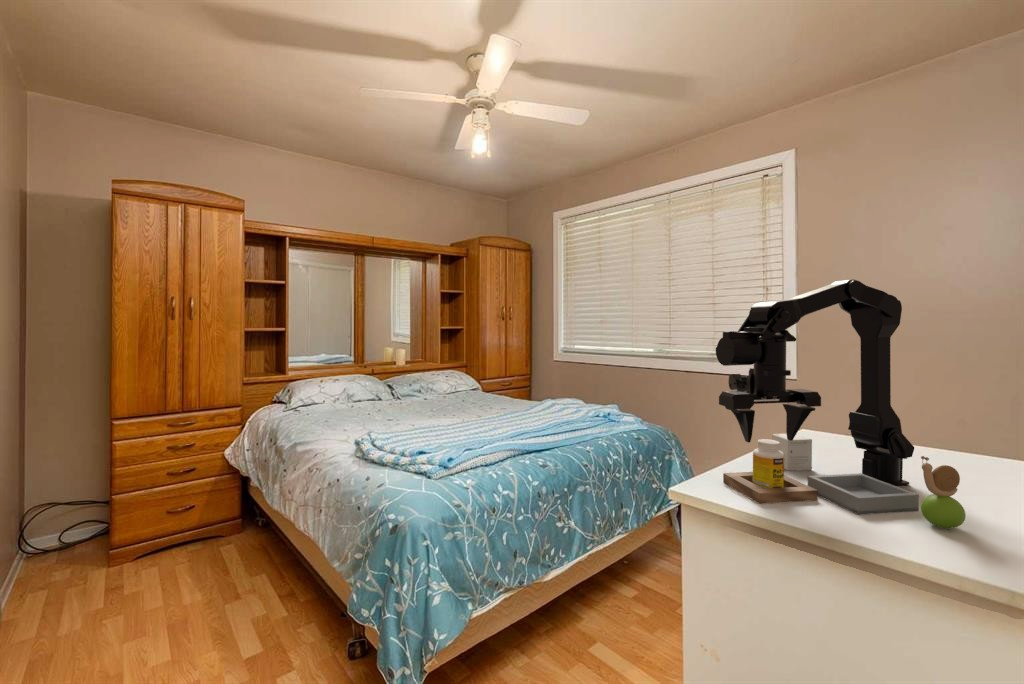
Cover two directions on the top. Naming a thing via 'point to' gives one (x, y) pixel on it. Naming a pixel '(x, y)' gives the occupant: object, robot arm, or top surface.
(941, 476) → the snail figurine
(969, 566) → the top surface
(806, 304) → the robot arm
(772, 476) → the supplement bottle
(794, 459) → the product box
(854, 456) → the top surface
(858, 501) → the parts tray
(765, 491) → the wooden rectangular frame
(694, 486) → the top surface
